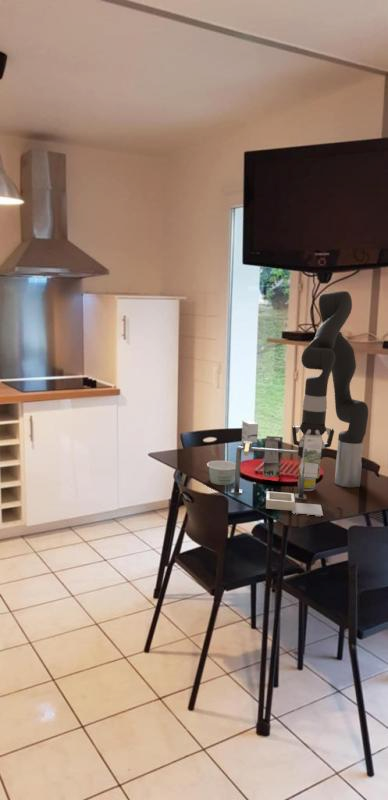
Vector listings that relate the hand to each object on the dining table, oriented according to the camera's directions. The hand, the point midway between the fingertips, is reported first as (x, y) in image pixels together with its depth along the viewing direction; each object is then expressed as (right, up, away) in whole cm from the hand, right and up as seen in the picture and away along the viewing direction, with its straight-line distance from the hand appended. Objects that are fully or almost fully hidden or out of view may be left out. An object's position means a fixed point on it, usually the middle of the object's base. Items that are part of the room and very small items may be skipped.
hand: (310, 457), depth 204 cm
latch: (-20, +2, +10) cm, 23 cm away
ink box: (-13, -3, +88) cm, 89 cm away
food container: (-28, -12, +31) cm, 44 cm away
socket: (-9, -17, +7) cm, 21 cm away
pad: (-1, -18, +3) cm, 18 cm away
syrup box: (0, -6, +1) cm, 6 cm away
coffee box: (-8, -12, +38) cm, 40 cm away
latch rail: (-12, -15, +17) cm, 26 cm away
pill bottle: (+3, -14, +26) cm, 30 cm away
